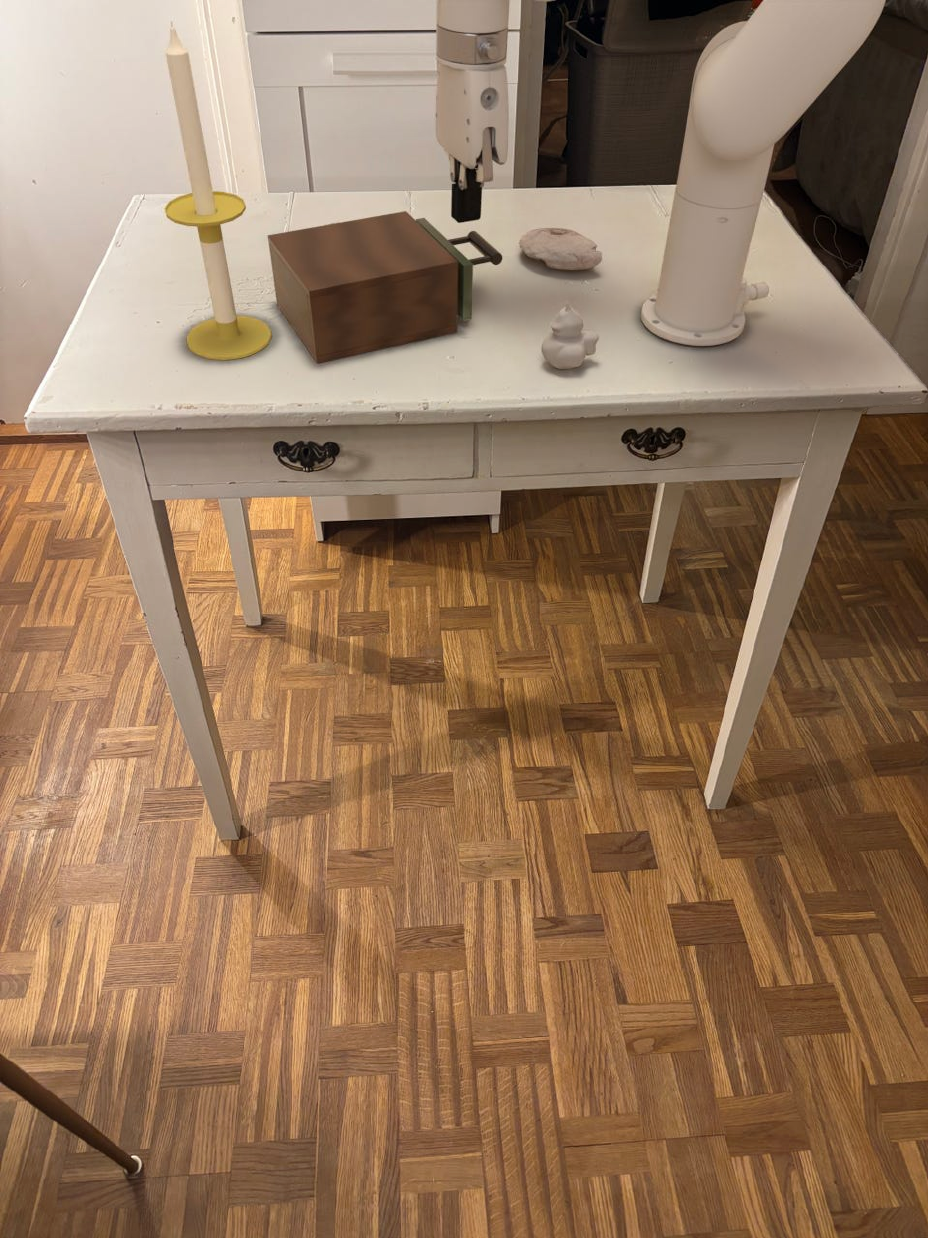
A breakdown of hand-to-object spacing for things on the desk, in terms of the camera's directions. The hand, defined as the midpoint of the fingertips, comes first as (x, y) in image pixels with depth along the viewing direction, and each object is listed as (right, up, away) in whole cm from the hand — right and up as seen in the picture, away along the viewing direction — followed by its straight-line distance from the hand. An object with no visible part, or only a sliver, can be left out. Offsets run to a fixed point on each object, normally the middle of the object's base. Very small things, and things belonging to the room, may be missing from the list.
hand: (465, 218), depth 111 cm
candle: (-28, -15, -1) cm, 32 cm away
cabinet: (-12, -11, +3) cm, 17 cm away
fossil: (+13, 0, +15) cm, 19 cm away
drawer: (-7, -9, +4) cm, 12 cm away
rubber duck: (+12, -19, -4) cm, 23 cm away
